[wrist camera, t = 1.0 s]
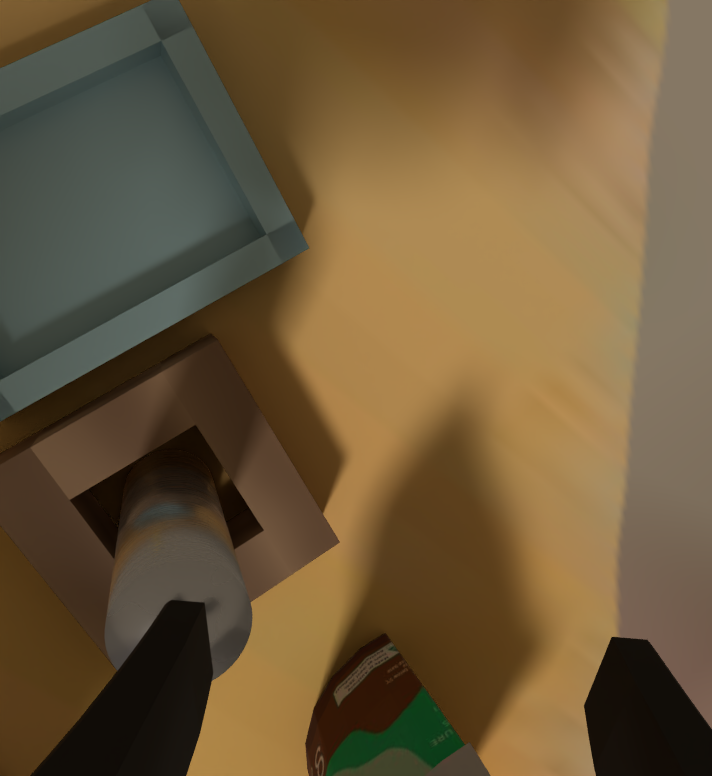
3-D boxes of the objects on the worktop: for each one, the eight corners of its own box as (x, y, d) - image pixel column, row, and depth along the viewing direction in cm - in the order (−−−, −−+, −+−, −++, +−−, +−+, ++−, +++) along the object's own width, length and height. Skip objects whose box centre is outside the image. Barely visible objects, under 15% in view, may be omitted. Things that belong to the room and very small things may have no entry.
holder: (130, 642, 22) (127, 684, 20) (-12, 460, 20) (-34, 484, 17) (321, 517, 23) (340, 542, 21) (210, 333, 21) (217, 340, 19)
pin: (154, 548, 22) (156, 719, 13) (105, 480, 21) (73, 616, 12) (229, 501, 22) (276, 636, 14) (185, 433, 21) (206, 531, 13)
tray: (-2, 417, 19) (-17, 430, 18) (-184, 178, 17) (-220, 166, 15) (297, 250, 22) (309, 248, 20) (171, 15, 19) (173, -10, 17)
